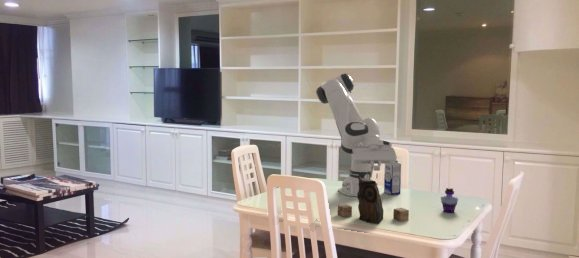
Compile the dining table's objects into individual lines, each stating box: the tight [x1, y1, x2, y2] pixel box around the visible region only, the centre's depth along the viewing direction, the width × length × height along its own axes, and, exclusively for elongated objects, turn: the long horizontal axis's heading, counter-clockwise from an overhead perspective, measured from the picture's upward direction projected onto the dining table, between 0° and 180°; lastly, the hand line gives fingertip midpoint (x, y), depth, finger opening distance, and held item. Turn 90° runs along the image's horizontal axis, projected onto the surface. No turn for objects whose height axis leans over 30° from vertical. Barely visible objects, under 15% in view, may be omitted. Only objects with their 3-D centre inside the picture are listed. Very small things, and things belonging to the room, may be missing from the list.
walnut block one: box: [337, 203, 353, 219], centre depth 225 cm, size 5×5×5 cm
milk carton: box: [383, 160, 402, 196], centre depth 271 cm, size 7×7×20 cm
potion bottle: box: [440, 187, 459, 214], centre depth 233 cm, size 9×9×12 cm
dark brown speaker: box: [356, 177, 384, 225], centre depth 218 cm, size 13×13×20 cm
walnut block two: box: [392, 207, 410, 222], centre depth 219 cm, size 5×5×5 cm
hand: (376, 169), depth 217 cm, fingers closed
